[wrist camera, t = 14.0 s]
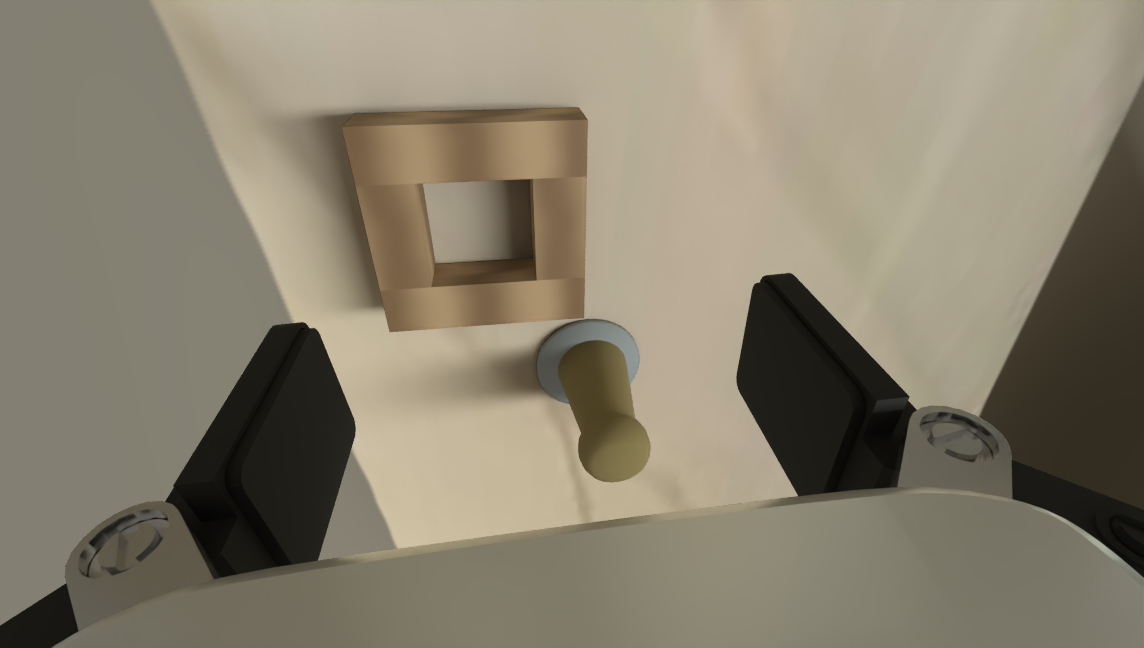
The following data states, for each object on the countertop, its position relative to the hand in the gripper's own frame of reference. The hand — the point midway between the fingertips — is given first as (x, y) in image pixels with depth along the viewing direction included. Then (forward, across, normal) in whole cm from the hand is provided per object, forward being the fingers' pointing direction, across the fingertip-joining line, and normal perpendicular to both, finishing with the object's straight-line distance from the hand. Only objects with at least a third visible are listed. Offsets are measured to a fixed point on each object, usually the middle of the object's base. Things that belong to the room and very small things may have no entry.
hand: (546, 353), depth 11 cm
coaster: (+26, -4, +22) cm, 34 cm away
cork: (+26, -4, +22) cm, 34 cm away
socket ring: (+26, +3, +8) cm, 27 cm away
